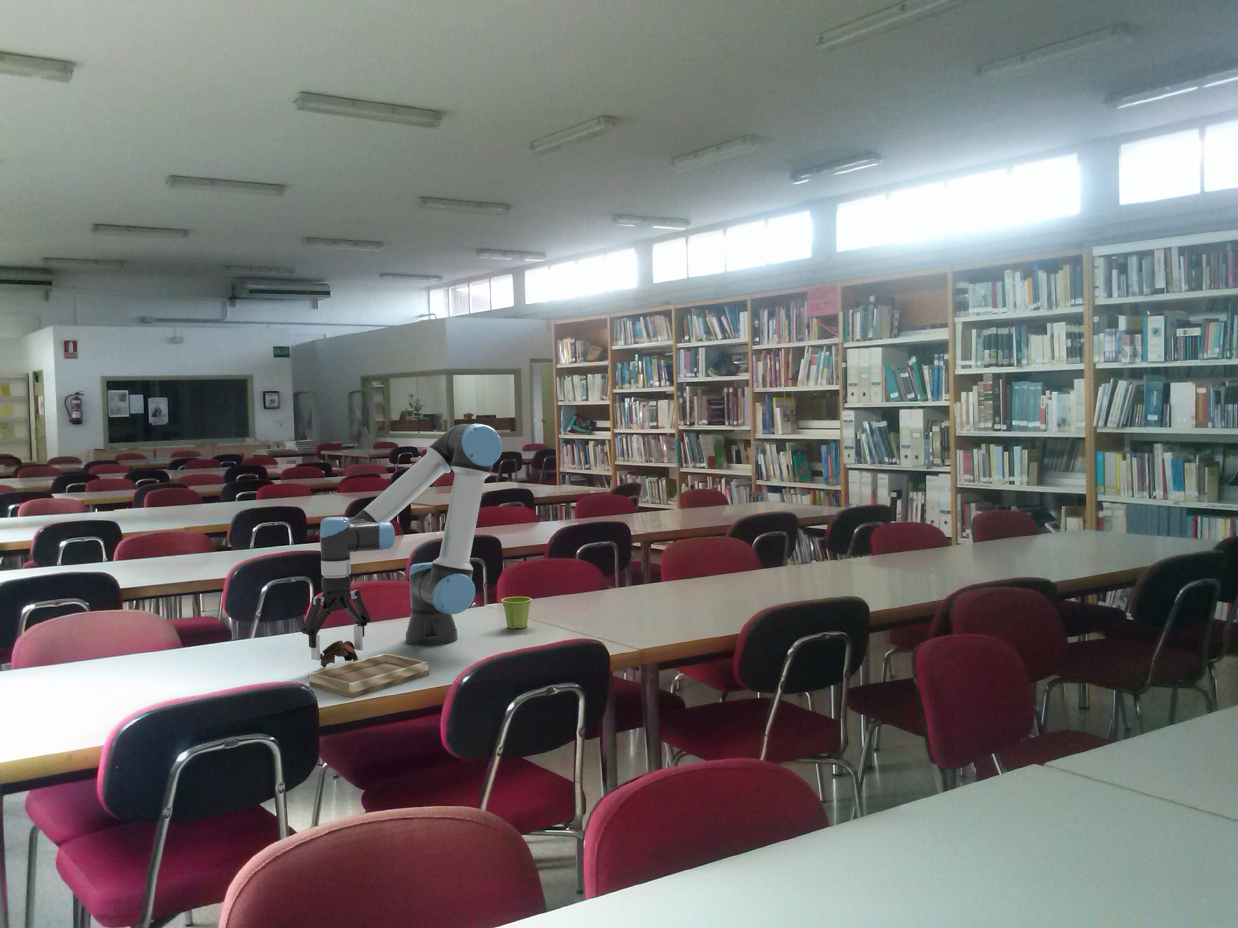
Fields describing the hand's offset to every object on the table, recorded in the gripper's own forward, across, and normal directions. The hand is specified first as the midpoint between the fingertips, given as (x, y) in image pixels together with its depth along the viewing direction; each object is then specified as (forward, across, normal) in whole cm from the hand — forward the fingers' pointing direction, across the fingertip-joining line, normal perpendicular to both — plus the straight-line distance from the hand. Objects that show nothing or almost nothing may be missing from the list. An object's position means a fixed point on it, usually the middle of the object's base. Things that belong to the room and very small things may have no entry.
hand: (337, 654), depth 262 cm
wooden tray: (+3, +4, +18) cm, 19 cm away
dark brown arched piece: (+4, -1, +1) cm, 4 cm away
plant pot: (+2, -60, +8) cm, 61 cm away
